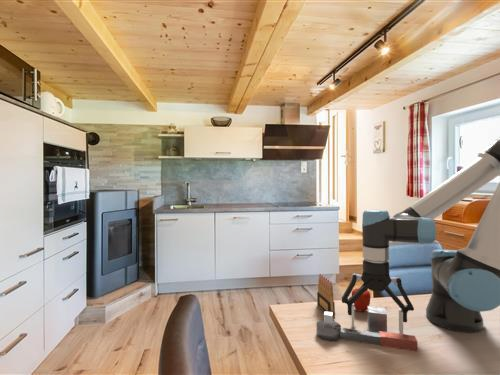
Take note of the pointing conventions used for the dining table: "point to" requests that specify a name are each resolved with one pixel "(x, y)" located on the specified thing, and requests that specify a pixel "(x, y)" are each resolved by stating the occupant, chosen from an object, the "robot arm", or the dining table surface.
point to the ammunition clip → (325, 295)
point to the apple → (362, 301)
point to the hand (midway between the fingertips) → (376, 328)
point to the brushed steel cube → (377, 319)
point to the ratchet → (363, 335)
